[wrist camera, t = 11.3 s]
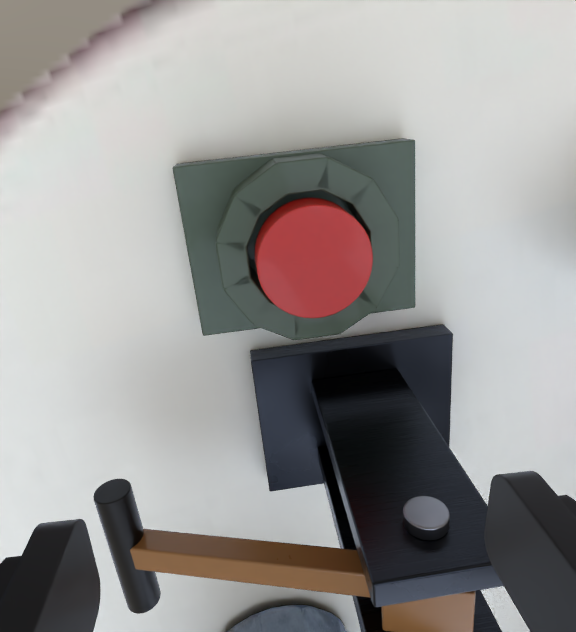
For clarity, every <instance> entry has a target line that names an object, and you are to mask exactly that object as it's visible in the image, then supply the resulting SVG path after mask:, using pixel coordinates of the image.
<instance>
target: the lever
mask: <svg viewBox="0 0 576 632" xmlns="http://www.w3.org/2000/svg"><path fill="white" fill-rule="evenodd" d="M94 502H95V505H96V508H97V511H98V514H99V517H100V521H101V524H102V527H103V530H104V533H105V536H106V539H107V542H108V546H109V549H110V552H111V555H112V558H113V561H114V564H115V568H116V571H117V574H118V577H119V580H120V583H121V586H122V590H123V593H124V596H125V599H126V602H127V605H128V608H129V609H130V610H131V611H132V612H134V613H144V612H147V611H149V610H151V609H152V608H153V607H154V606H155V605H156V604H157V603H158V601H159V599H160V594H161V592H160V588H159V584H158V581H157V577H156V574H155V572H162V573H171V574H179V575H187V576H195V577H204V578H212V579H220V580H229V581H237V582H245V583H253V584H262V585H270V586H278V587H286V588H295V589H303V590H311V591H320V592H328V593H336V594H344V595H353V596H361V597H369V598H371V597H370V594H369V590H368V587H367V583H366V580H365V576H364V573H363V569H362V566H361V562H360V559H359V555H358V552H357V550H350V549H340V548H330V547H320V546H310V545H300V544H290V543H280V542H269V541H259V540H249V539H239V538H229V537H219V536H209V535H199V534H189V533H179V532H169V531H159V530H149V529H143V527H142V523H141V520H140V516H139V513H138V509H137V505H136V502H135V498H134V495H133V491H132V487H131V484H130V482H128V481H127V480H125V479H114V480H110V481H108V482H106V483H104V484H102V485H101V486H100V487H99V488H98V489H97V490H96V491H95V493H94ZM475 595H476V593H475V591H471V592H465V593H459V594H453V595H447V596H441V597H435V598H429V599H423V600H418V601H412V602H406V603H400V604H394V605H388V606H382V607H381V608H382V628H383V630H384V631H391V632H473V626H474V611H475Z"/></svg>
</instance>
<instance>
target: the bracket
mask: <svg viewBox="0 0 576 632" xmlns="http://www.w3.org/2000/svg"><path fill="white" fill-rule="evenodd" d="M452 341H453V334H452V332H451V331H450V330H448V329H447V328H446V327H445V326H444V325H436V326H428V327H421V328H414V329H406V330H399V331H392V332H384V333H377V334H369V335H362V336H355V337H347V338H340V339H333V340H325V341H318V342H310V343H303V344H296V345H288V346H281V347H273V348H266V349H259V350H251V351H250V354H251V365H252V372H253V379H254V386H255V393H256V399H257V406H258V413H259V420H260V427H261V434H262V441H263V448H264V455H265V462H266V469H267V476H268V483H269V490H270V491H276V490H283V489H289V488H296V487H303V486H309V485H316V484H322V483H324V484H325V488H326V492H327V496H328V500H329V504H330V508H331V512H332V516H333V520H334V524H335V528H336V532H337V536H338V540H339V544H340V548H341V549H350V550H357V552H358V555H359V559H360V562H361V566H362V569H363V573H364V576H365V580H366V583H367V587H368V590H369V594H370V597H371V598H369V597H361V596H353V595H352V596H353V600H354V604H355V608H356V612H357V616H358V620H359V624H360V628H361V632H391V631H384V630H383V628H382V608H381V607H382V606H388V605H394V604H400V603H406V602H412V601H418V600H423V599H429V598H435V597H441V596H447V595H453V594H459V593H465V592H471V591H475V593H476V595H475V611H474V626H473V632H502V631H501V629H500V627H499V625H498V623H497V621H496V619H495V617H494V616H493V614H492V612H491V610H490V608H489V606H488V604H487V602H486V600H485V598H484V596H483V595H482V593H481V591H480V590H483V589H489V588H495V587H500V586H504V585H503V583H502V582H501V580H500V578H499V577H498V575H497V573H496V571H495V570H494V568H493V566H492V564H491V562H490V560H489V557H488V554H487V551H486V546H485V540H484V530H485V523H486V516H487V509H488V506H487V504H486V503H485V501H484V500H483V498H482V497H481V495H480V494H479V492H478V491H477V489H476V488H475V486H474V485H473V483H472V482H471V480H470V478H469V477H468V475H467V474H466V472H465V471H464V469H463V468H462V466H461V465H460V463H459V462H458V460H457V459H456V457H455V456H454V454H453V453H452V451H451V450H450V448H449V438H450V406H451V374H452Z"/></svg>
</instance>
